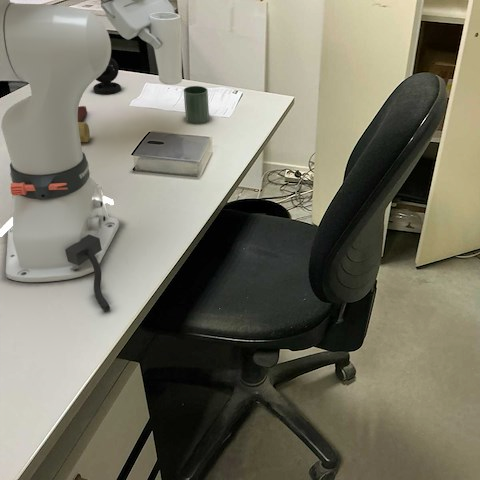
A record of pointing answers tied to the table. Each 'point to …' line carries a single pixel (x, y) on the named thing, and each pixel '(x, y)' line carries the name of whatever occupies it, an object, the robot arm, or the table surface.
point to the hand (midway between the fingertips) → (167, 42)
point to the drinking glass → (168, 46)
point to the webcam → (108, 79)
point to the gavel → (83, 125)
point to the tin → (196, 104)
